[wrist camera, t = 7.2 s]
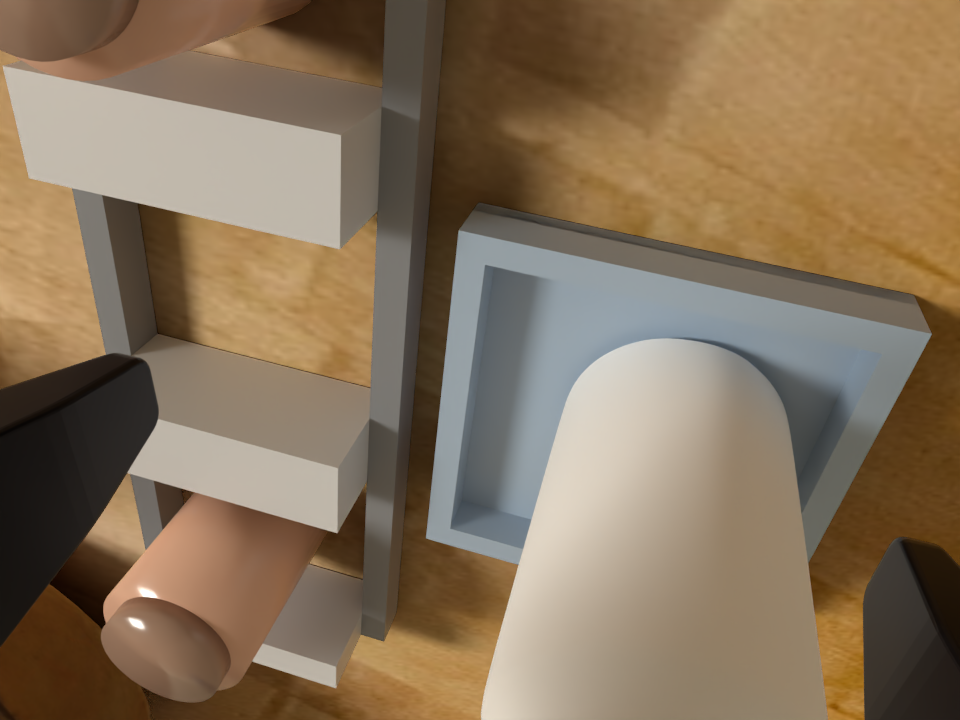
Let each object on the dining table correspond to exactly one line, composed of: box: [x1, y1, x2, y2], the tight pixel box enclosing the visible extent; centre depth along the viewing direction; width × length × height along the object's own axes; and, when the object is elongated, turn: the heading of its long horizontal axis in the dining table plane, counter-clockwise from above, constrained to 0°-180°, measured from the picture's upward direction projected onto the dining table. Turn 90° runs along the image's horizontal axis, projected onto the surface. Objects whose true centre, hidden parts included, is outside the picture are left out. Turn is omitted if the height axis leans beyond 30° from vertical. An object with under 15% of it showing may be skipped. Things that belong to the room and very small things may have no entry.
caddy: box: [3, 0, 446, 688], centre depth 23 cm, size 11×30×4 cm, turn 173°
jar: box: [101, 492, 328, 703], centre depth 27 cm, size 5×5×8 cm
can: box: [481, 338, 828, 720], centre depth 18 cm, size 6×6×12 cm
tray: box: [426, 202, 932, 565], centre depth 23 cm, size 12×12×2 cm
